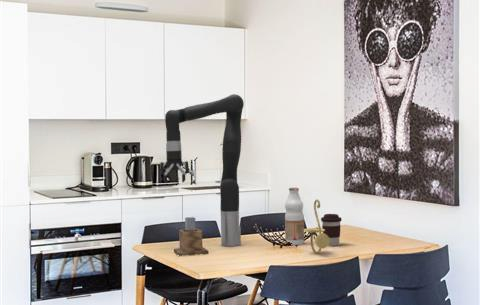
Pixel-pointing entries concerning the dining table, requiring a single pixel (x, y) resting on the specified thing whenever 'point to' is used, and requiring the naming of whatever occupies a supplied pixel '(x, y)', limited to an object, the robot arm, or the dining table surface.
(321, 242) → the wall sconce
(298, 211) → the fruit juice
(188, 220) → the grey upright cylinder
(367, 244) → the dining table surface
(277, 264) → the dining table surface
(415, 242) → the dining table surface
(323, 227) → the coffee cup
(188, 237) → the wooden flanged block
